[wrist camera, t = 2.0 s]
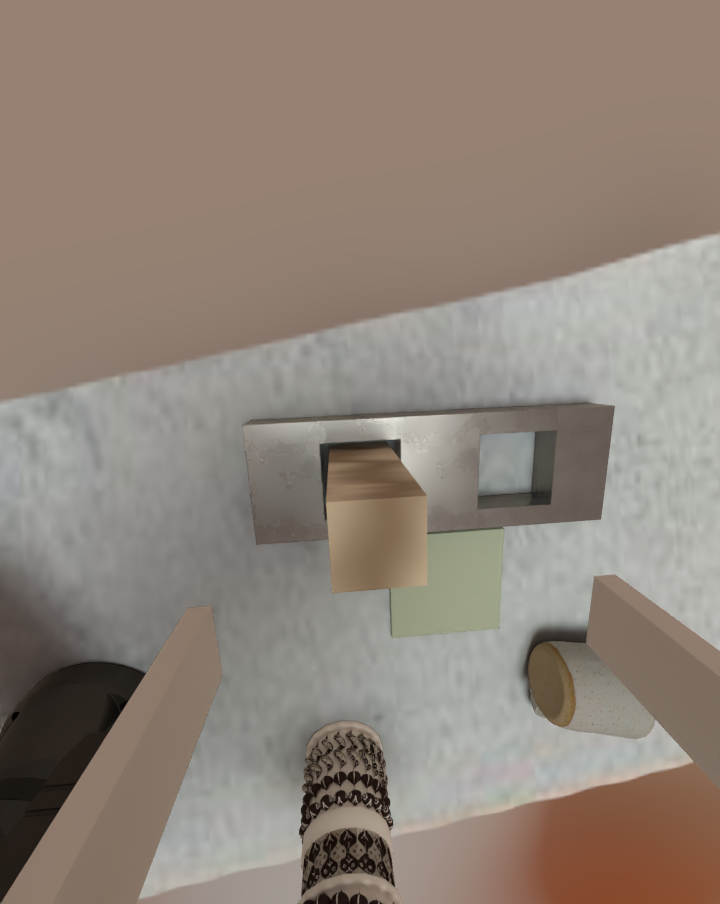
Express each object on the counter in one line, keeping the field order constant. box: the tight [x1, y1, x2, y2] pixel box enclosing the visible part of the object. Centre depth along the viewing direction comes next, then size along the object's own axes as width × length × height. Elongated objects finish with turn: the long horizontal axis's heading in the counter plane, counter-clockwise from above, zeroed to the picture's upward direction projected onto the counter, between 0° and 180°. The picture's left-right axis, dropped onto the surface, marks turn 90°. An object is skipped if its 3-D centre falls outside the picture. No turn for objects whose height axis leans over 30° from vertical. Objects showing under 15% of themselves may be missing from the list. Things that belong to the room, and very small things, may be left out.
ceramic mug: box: [528, 641, 655, 739], centre depth 34 cm, size 11×8×8 cm
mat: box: [390, 527, 504, 638], centre depth 34 cm, size 11×11×1 cm
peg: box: [326, 441, 427, 593], centre depth 24 cm, size 5×5×14 cm
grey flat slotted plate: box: [242, 403, 615, 545], centre depth 30 cm, size 30×10×3 cm, turn 92°
